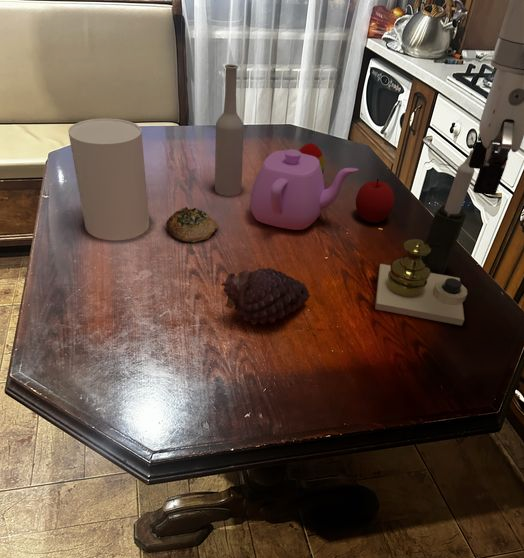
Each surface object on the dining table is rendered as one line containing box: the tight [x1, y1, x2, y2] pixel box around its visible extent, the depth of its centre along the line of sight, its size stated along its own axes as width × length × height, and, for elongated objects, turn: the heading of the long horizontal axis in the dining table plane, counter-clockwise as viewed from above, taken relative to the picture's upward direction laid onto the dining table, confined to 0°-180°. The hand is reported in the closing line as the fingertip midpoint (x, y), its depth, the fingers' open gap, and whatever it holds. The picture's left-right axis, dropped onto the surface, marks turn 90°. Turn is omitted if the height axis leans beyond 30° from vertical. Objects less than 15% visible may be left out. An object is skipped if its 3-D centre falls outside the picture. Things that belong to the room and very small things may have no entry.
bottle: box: [214, 63, 245, 197], centre depth 119 cm, size 7×7×28 cm
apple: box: [355, 178, 395, 224], centre depth 119 cm, size 9×9×10 cm
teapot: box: [249, 148, 359, 231], centre depth 113 cm, size 23×21×15 cm
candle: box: [422, 149, 475, 275], centre depth 99 cm, size 5×5×25 cm
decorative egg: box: [298, 142, 325, 175], centre depth 131 cm, size 8×8×10 cm
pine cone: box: [220, 267, 311, 325], centre depth 89 cm, size 18×10×10 cm
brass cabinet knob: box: [386, 238, 431, 297], centre depth 96 cm, size 7×7×10 cm
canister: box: [67, 117, 150, 241], centre depth 105 cm, size 14×14×20 cm
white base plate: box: [374, 263, 468, 326], centre depth 99 cm, size 16×14×3 cm
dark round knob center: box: [443, 278, 463, 294], centre depth 97 cm, size 3×3×2 cm
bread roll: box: [165, 206, 219, 243], centre depth 111 cm, size 11×11×5 cm
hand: (480, 180), depth 80 cm, fingers open, 9 cm apart
